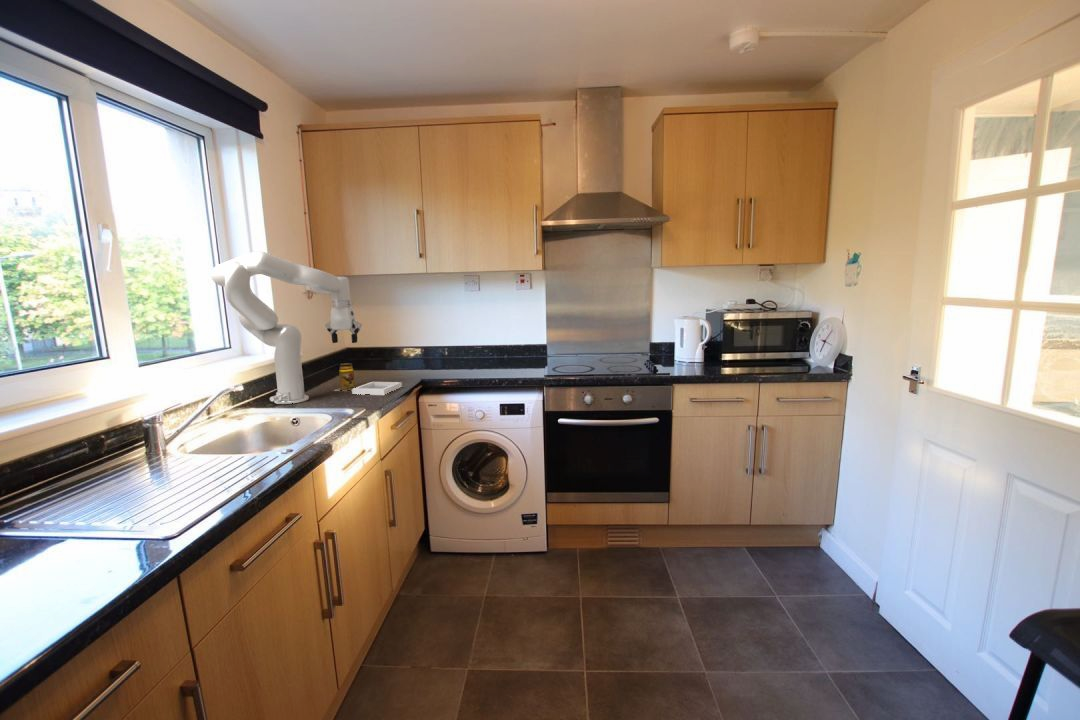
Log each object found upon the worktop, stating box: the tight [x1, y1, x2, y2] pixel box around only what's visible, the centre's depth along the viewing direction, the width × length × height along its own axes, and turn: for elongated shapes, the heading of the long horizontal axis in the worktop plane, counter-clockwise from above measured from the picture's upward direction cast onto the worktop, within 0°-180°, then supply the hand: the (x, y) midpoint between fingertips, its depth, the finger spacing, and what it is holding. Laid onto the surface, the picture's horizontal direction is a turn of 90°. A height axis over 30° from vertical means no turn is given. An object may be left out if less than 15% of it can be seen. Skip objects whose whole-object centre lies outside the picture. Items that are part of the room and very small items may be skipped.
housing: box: [351, 381, 403, 396], centre depth 206 cm, size 16×15×2 cm
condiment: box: [333, 362, 356, 392], centre depth 211 cm, size 7×8×12 cm
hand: (344, 342), depth 209 cm, fingers open, 9 cm apart
